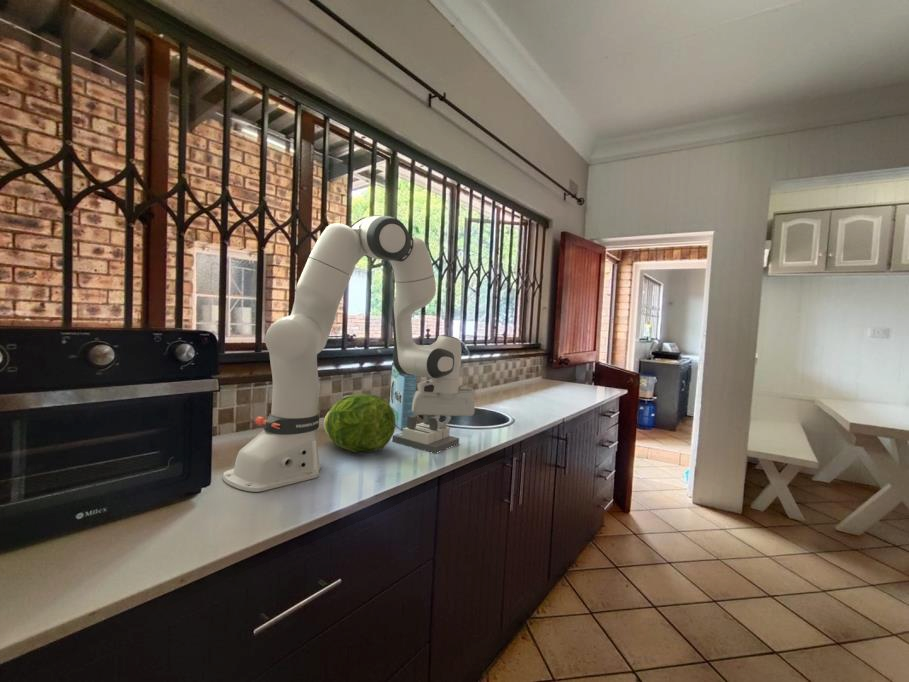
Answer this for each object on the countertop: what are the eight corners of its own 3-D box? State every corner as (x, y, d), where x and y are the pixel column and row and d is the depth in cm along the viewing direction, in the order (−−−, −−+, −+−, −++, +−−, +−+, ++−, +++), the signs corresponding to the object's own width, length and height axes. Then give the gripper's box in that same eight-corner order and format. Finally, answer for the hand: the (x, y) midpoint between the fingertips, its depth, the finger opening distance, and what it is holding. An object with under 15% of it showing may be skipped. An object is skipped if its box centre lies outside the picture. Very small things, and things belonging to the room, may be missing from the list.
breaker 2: (427, 423, 138) (428, 413, 137) (423, 422, 139) (423, 412, 138) (431, 422, 140) (432, 412, 139) (427, 421, 141) (427, 411, 140)
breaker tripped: (434, 429, 131) (435, 418, 131) (429, 428, 132) (430, 417, 132) (438, 428, 133) (439, 417, 133) (433, 427, 134) (434, 416, 134)
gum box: (413, 430, 148) (418, 368, 147) (399, 430, 146) (404, 367, 145) (399, 417, 166) (404, 361, 165) (387, 417, 164) (391, 361, 163)
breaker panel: (435, 453, 124) (436, 437, 123) (392, 441, 132) (393, 426, 132) (458, 444, 136) (459, 429, 135) (417, 433, 144) (418, 419, 144)
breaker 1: (411, 428, 130) (412, 417, 130) (406, 427, 131) (407, 416, 131) (416, 427, 132) (417, 416, 132) (411, 426, 133) (412, 415, 133)
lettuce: (351, 436, 136) (341, 387, 134) (408, 439, 125) (399, 386, 122) (312, 459, 121) (300, 404, 118) (373, 466, 110) (361, 405, 107)
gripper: (473, 385, 135) (470, 426, 136) (412, 383, 131) (409, 425, 131) (479, 389, 129) (475, 431, 130) (415, 386, 124) (412, 430, 125)
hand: (441, 428), depth 130 cm, fingers closed
